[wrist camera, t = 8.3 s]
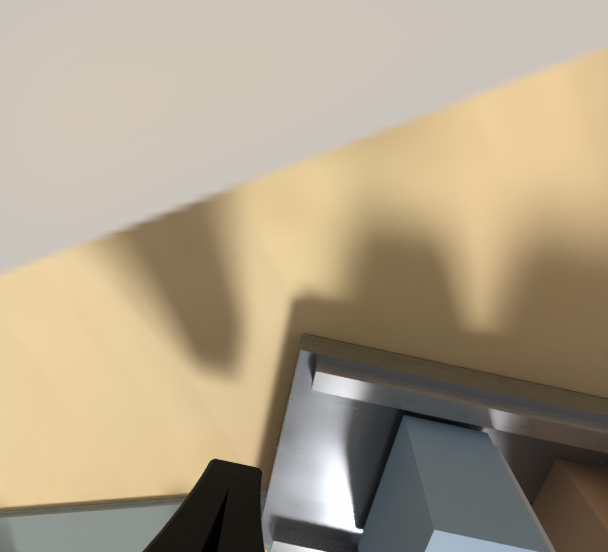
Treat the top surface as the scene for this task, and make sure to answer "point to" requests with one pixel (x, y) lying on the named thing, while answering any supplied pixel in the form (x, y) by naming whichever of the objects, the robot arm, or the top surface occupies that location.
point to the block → (574, 507)
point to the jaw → (449, 496)
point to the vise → (384, 427)
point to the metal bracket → (89, 527)
